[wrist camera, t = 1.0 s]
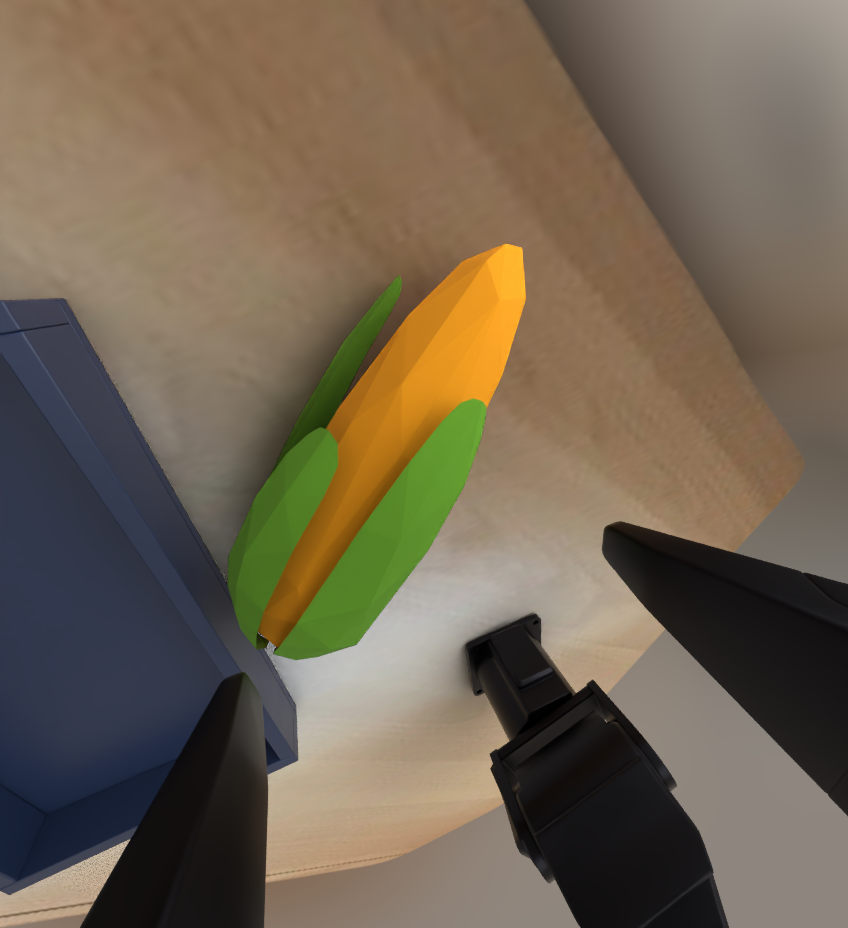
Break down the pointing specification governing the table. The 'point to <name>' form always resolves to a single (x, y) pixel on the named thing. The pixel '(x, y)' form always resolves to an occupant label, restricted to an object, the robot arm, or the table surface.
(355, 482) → the corn
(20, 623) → the tray
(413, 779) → the table surface
